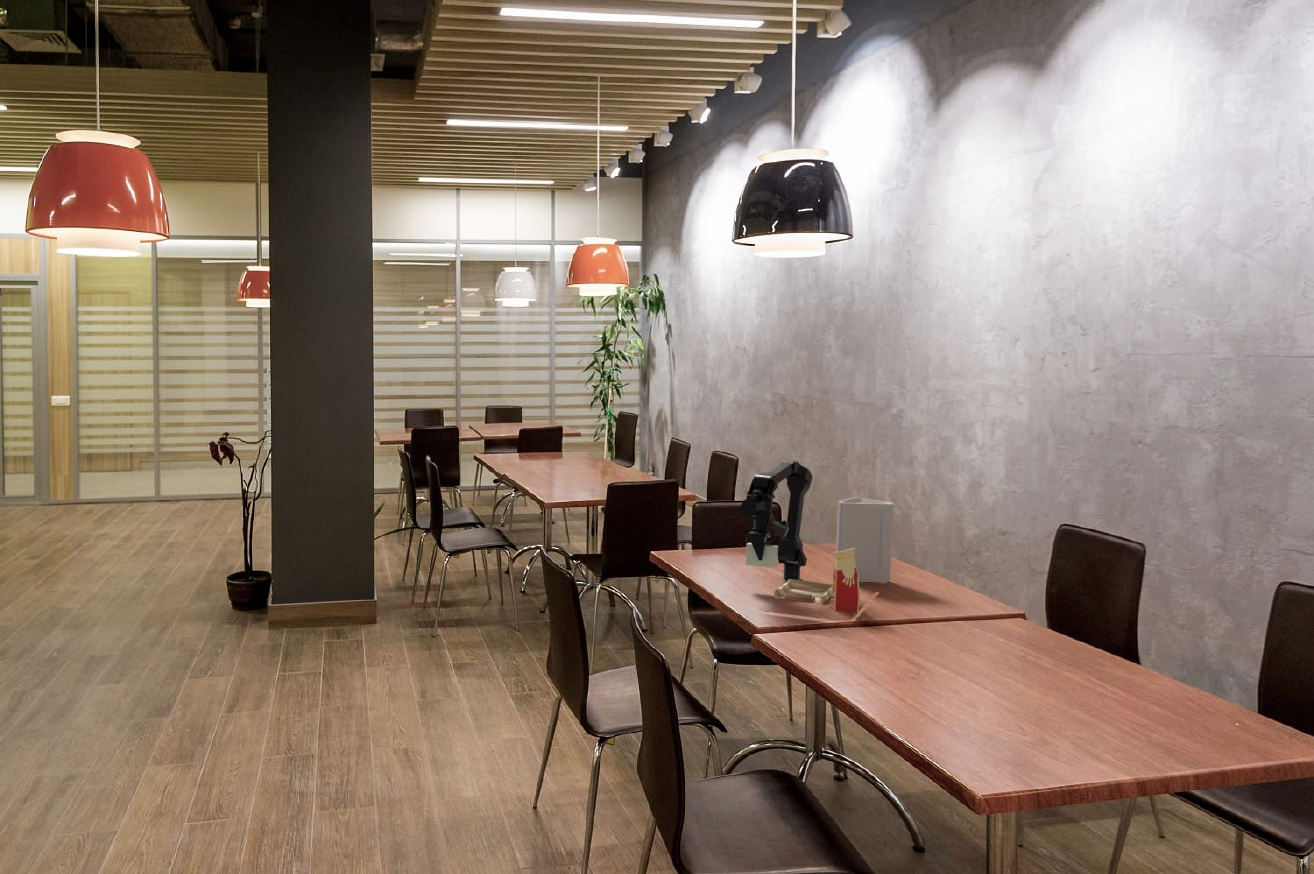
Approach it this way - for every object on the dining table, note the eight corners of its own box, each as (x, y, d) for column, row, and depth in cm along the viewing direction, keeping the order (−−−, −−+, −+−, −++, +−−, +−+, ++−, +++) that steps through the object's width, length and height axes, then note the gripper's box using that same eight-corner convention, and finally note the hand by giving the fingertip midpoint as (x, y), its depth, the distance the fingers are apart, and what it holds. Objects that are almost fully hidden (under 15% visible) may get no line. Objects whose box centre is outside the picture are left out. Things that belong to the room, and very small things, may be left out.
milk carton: (857, 607, 335) (860, 545, 334) (859, 615, 326) (862, 550, 324) (828, 606, 336) (830, 543, 335) (829, 613, 327) (832, 549, 325)
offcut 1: (786, 593, 343) (787, 590, 343) (811, 595, 341) (811, 592, 341) (785, 595, 340) (785, 592, 339) (810, 598, 337) (810, 595, 337)
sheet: (747, 563, 354) (748, 542, 353) (777, 566, 350) (777, 545, 349) (745, 564, 351) (746, 543, 351) (775, 567, 348) (775, 546, 347)
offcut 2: (787, 596, 344) (788, 592, 344) (815, 599, 341) (815, 596, 340) (784, 598, 340) (784, 595, 340) (812, 601, 337) (812, 598, 337)
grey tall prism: (879, 574, 387) (883, 498, 385) (890, 583, 373) (894, 504, 370) (827, 573, 386) (831, 496, 384) (837, 582, 371) (840, 503, 369)
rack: (788, 589, 358) (788, 578, 358) (835, 594, 352) (835, 584, 352) (774, 600, 341) (774, 589, 341) (823, 606, 336) (823, 595, 335)
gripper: (779, 519, 338) (777, 567, 339) (794, 511, 355) (792, 557, 356) (746, 516, 342) (744, 563, 343) (762, 508, 359) (760, 553, 360)
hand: (761, 559), depth 351 cm, fingers closed on sheet, 2 cm apart
